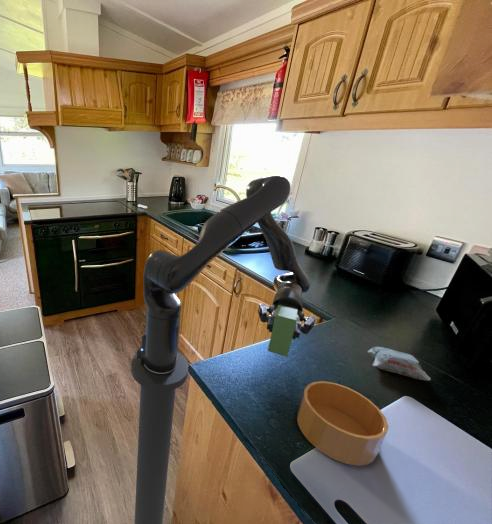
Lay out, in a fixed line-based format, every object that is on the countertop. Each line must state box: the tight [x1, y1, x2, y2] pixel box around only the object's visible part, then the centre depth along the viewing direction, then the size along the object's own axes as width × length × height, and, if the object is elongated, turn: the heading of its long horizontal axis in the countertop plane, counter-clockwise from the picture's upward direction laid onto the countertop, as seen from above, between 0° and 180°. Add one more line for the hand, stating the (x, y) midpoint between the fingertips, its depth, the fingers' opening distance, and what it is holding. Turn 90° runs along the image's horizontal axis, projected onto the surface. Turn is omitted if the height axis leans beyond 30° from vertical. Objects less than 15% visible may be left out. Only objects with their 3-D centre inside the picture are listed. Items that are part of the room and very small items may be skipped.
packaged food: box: [367, 346, 432, 382], centre depth 80 cm, size 9×12×5 cm
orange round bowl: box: [296, 380, 389, 467], centre depth 60 cm, size 14×14×7 cm
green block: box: [267, 305, 298, 358], centre depth 70 cm, size 4×6×10 cm
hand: (282, 332), depth 67 cm, fingers closed on green block, 4 cm apart
